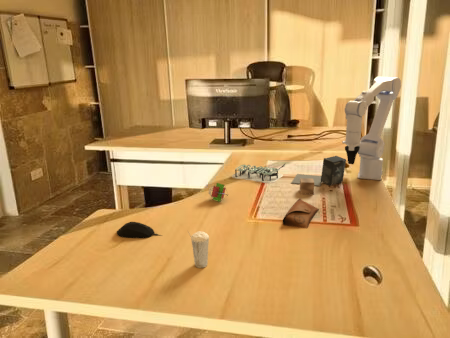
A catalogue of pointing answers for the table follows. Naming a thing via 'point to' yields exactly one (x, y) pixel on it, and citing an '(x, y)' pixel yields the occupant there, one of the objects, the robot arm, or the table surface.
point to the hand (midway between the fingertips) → (351, 163)
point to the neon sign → (257, 174)
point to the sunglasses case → (300, 214)
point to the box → (333, 170)
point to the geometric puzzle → (217, 192)
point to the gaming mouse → (136, 230)
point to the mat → (316, 178)
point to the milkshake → (200, 248)
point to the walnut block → (306, 186)
